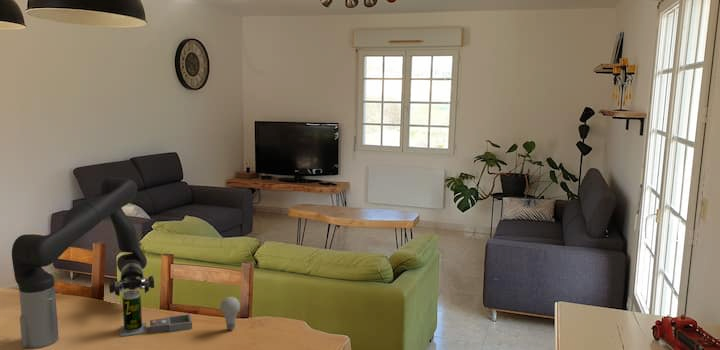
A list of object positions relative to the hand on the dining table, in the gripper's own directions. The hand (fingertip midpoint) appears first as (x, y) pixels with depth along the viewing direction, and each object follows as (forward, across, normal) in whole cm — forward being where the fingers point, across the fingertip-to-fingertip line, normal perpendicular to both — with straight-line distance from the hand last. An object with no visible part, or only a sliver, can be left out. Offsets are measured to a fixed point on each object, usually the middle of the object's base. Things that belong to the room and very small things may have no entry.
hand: (132, 291), depth 185 cm
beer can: (+10, 0, +9) cm, 14 cm away
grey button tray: (+12, +11, +9) cm, 19 cm away
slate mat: (+11, 0, +9) cm, 14 cm away
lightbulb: (+21, +29, +9) cm, 37 cm away
